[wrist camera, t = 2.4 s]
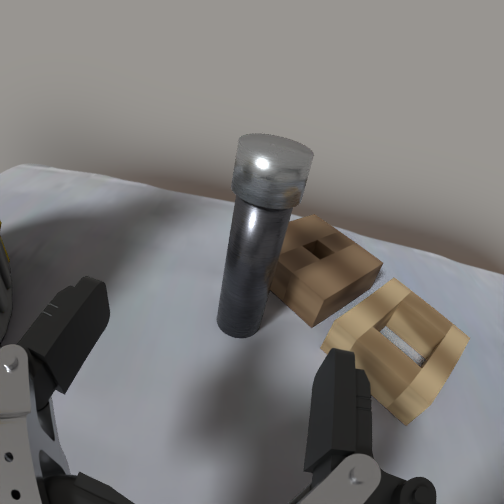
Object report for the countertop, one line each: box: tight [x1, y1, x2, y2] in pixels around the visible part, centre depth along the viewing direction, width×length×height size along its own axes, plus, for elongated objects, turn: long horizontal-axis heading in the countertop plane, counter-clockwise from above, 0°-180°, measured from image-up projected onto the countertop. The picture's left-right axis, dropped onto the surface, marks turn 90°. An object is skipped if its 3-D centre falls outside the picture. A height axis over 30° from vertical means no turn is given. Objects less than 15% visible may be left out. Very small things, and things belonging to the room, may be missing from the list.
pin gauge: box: [217, 134, 314, 338], centre depth 22 cm, size 4×4×15 cm
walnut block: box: [270, 214, 383, 328], centre depth 32 cm, size 10×10×4 cm
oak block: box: [321, 278, 470, 426], centre depth 25 cm, size 10×10×4 cm
